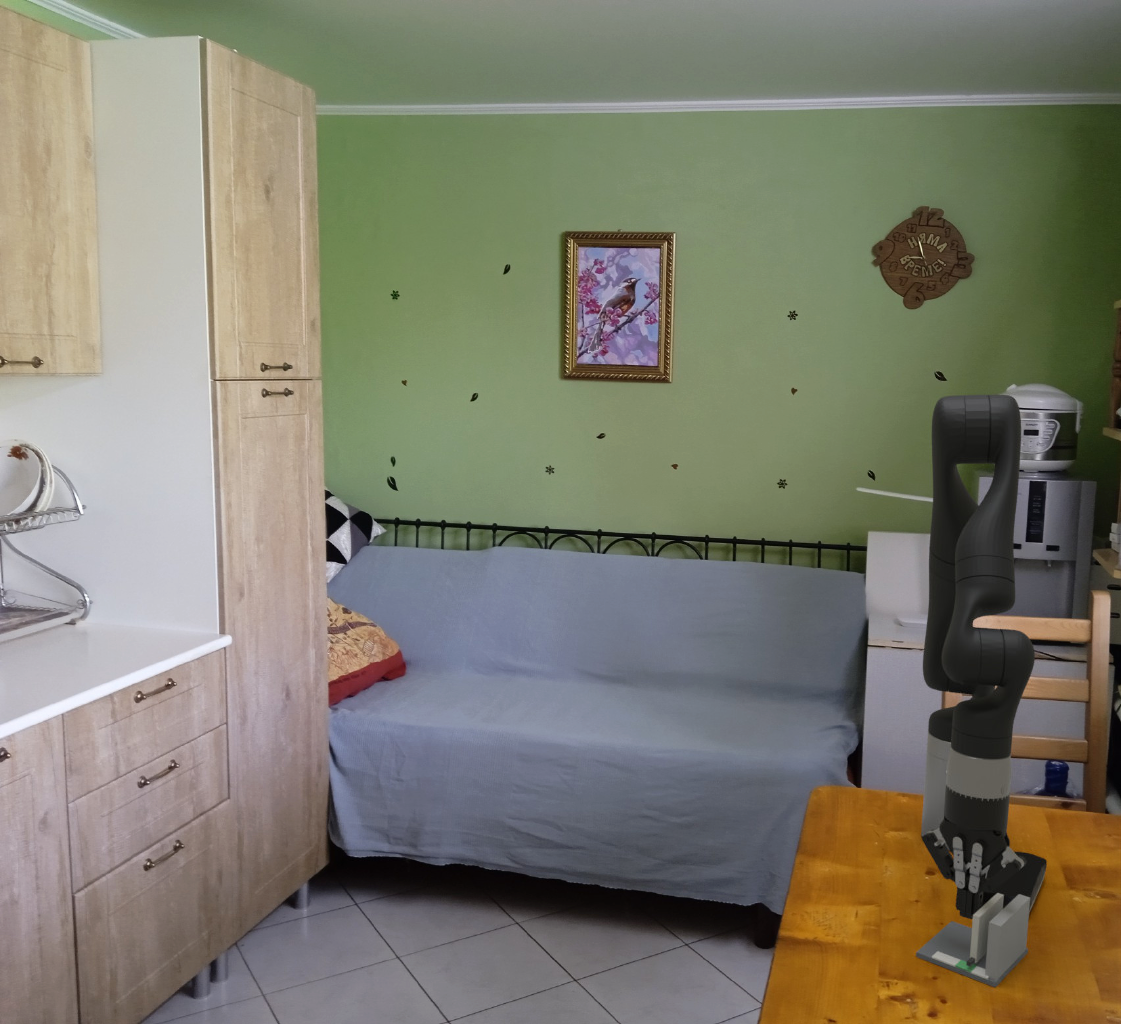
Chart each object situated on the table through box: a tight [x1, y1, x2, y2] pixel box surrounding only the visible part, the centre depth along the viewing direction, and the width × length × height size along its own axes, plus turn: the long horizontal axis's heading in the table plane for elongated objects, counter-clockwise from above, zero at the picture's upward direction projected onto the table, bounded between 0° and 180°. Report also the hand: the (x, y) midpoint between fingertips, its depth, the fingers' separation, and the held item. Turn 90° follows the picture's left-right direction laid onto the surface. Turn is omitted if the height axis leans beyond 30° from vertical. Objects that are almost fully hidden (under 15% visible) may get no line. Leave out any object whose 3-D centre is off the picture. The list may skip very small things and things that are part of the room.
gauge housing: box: [915, 894, 1030, 988], centre depth 139 cm, size 11×10×8 cm
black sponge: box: [982, 851, 1048, 913], centre depth 157 cm, size 16×8×4 cm, turn 147°
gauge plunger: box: [966, 893, 1004, 967], centre depth 138 cm, size 9×1×6 cm, turn 138°
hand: (967, 915), depth 140 cm, fingers closed
